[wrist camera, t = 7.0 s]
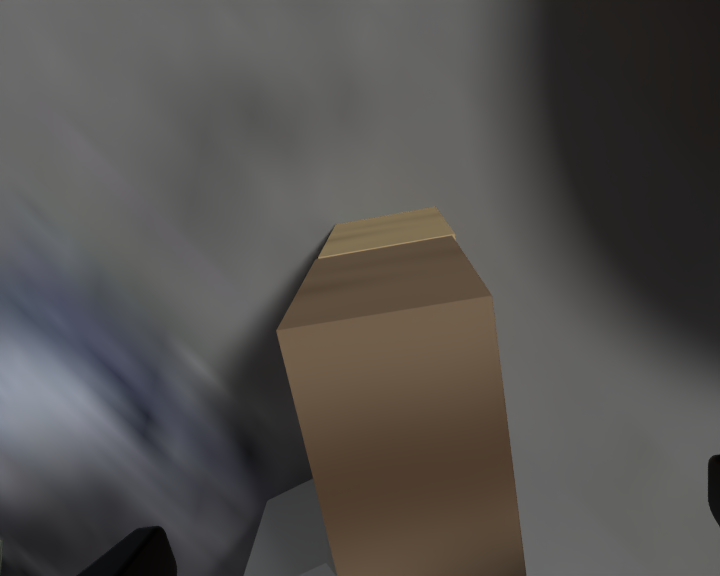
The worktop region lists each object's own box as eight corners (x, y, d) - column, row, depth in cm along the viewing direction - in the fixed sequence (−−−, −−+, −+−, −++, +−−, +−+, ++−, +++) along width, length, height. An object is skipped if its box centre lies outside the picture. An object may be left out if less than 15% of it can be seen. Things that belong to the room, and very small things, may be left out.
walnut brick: (485, 472, 15) (533, 634, 10) (365, 488, 15) (356, 652, 10) (451, 235, 13) (491, 295, 8) (315, 259, 13) (276, 330, 8)
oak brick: (461, 388, 20) (487, 471, 15) (371, 401, 20) (366, 487, 15) (435, 206, 18) (454, 233, 13) (335, 224, 18) (317, 257, 13)
